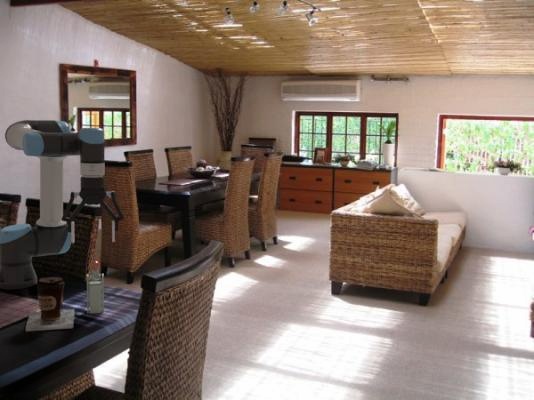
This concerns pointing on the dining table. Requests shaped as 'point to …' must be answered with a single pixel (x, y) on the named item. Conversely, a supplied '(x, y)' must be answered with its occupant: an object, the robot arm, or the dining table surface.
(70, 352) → the dining table surface
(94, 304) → the press column
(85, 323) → the dining table surface
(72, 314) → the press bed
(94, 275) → the lever
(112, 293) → the dining table surface
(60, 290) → the coffee cup
